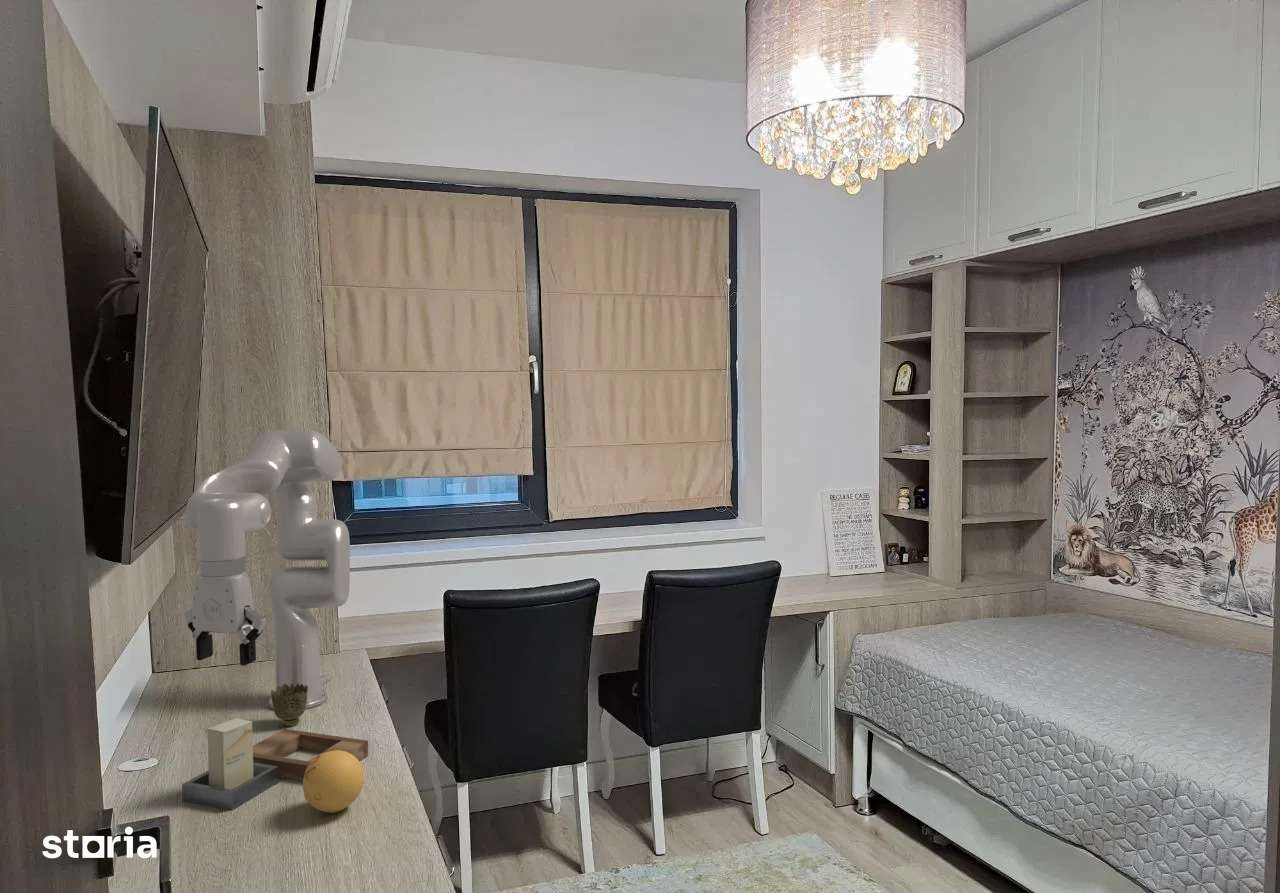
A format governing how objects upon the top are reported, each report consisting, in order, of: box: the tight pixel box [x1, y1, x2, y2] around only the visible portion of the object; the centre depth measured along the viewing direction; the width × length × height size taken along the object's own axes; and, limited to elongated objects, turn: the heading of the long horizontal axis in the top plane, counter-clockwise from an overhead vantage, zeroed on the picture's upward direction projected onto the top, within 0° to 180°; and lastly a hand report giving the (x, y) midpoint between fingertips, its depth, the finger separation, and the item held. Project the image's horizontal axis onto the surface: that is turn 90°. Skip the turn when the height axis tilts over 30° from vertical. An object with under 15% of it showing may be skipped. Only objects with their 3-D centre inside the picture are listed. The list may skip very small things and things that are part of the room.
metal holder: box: [181, 763, 280, 811], centre depth 151 cm, size 11×11×3 cm
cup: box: [270, 683, 308, 727], centre depth 182 cm, size 8×7×8 cm
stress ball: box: [302, 750, 365, 814], centre depth 144 cm, size 10×10×10 cm
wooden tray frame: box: [253, 728, 369, 781], centre depth 163 cm, size 13×20×3 cm, turn 72°
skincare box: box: [207, 717, 254, 790], centre depth 151 cm, size 6×4×12 cm
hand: (226, 660), depth 153 cm, fingers open, 9 cm apart
